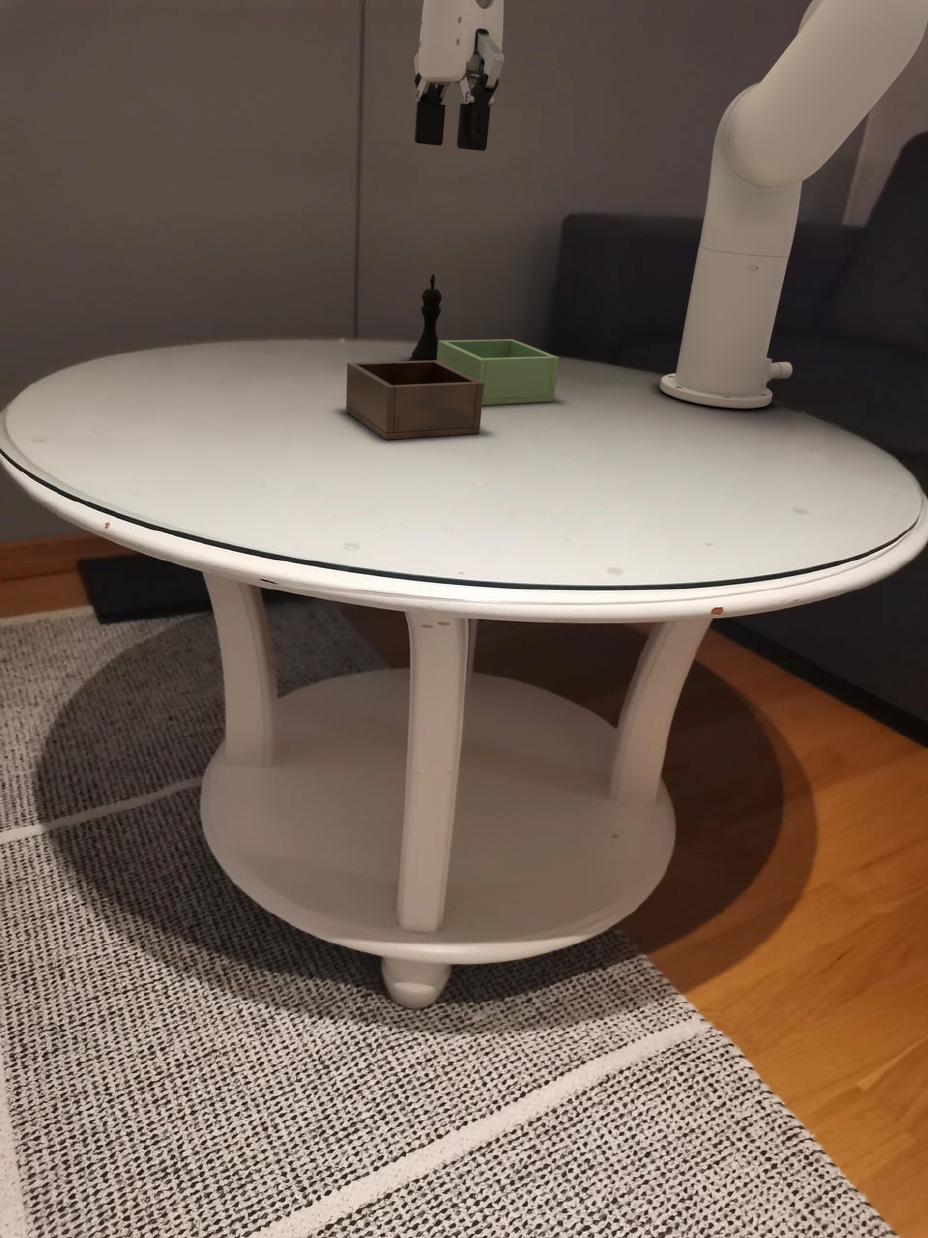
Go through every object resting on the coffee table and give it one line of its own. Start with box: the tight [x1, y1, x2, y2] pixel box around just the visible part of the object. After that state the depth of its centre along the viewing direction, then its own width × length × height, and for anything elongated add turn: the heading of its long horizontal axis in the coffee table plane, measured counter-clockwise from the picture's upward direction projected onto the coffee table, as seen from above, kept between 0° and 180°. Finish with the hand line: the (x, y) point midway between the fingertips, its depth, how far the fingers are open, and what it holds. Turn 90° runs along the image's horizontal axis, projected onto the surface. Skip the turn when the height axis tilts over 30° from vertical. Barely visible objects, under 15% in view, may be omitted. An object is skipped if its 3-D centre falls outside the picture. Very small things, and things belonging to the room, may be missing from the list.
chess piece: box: [408, 274, 443, 361], centre depth 109 cm, size 4×4×10 cm
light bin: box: [437, 338, 560, 406], centre depth 100 cm, size 9×9×5 cm
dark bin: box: [345, 360, 484, 441], centre depth 87 cm, size 9×9×5 cm
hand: (449, 146), depth 100 cm, fingers open, 9 cm apart
